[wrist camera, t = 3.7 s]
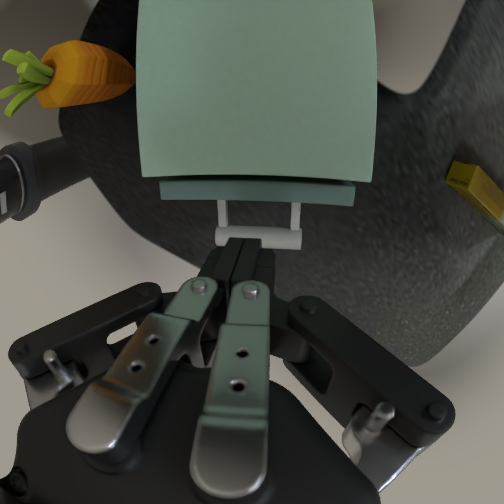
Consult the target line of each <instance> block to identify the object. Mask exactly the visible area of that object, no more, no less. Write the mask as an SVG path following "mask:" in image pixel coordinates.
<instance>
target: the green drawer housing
mask: <svg viewBox="0 0 504 504" xmlns="http://www.w3.org/2000/svg"><path fill="white" fill-rule="evenodd" d="M136 100H137V122H138V137H139V149H140V160H141V169H142V176H143V177H155V176H177V175H274V176H296V177H313V178H327V179H339V180H350V181H361V182H371V178H372V169H373V158H374V146H375V132H376V110H377V59H376V38H375V24H374V14H373V5H372V0H139V10H138V24H137V43H136Z"/></svg>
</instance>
